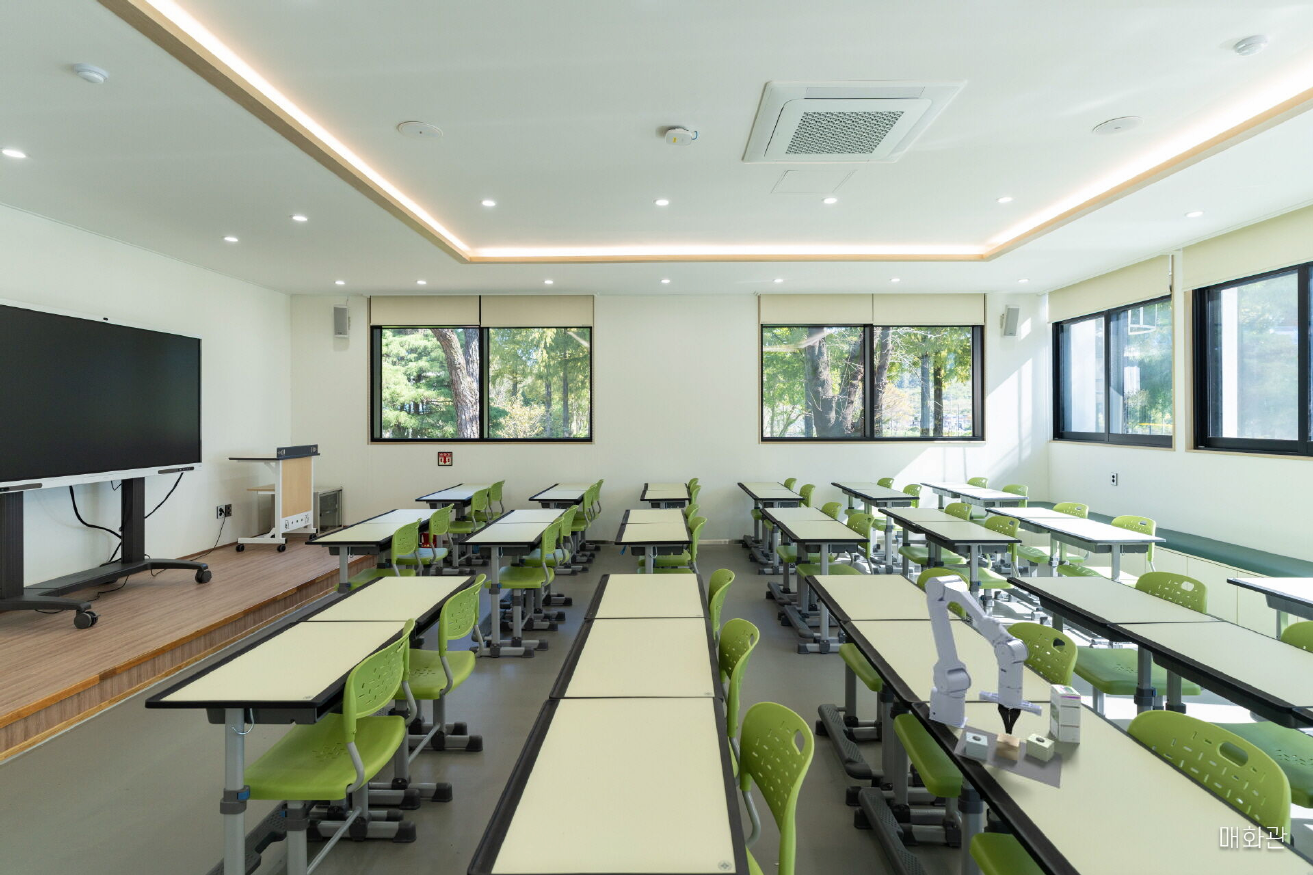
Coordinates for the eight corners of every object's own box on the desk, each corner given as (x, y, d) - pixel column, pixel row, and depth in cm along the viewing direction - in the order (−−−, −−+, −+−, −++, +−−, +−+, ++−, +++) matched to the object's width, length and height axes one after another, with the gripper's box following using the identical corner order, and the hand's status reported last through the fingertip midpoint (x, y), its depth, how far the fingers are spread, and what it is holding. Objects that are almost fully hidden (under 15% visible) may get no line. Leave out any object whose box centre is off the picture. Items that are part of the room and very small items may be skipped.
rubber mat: (953, 754, 157) (953, 752, 157) (965, 725, 172) (965, 724, 171) (1059, 789, 143) (1059, 787, 143) (1062, 755, 157) (1062, 754, 157)
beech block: (996, 754, 157) (996, 740, 156) (998, 745, 161) (999, 732, 160) (1017, 761, 154) (1018, 746, 153) (1019, 752, 158) (1020, 738, 157)
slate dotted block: (966, 754, 156) (966, 739, 156) (965, 745, 161) (966, 730, 161) (987, 760, 154) (987, 744, 154) (986, 750, 158) (986, 735, 158)
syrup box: (1080, 744, 162) (1082, 694, 162) (1057, 742, 163) (1059, 692, 163) (1070, 733, 168) (1072, 685, 167) (1048, 731, 169) (1049, 683, 168)
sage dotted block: (1026, 753, 157) (1026, 738, 157) (1033, 746, 160) (1033, 732, 160) (1046, 762, 153) (1047, 746, 153) (1053, 755, 156) (1054, 740, 156)
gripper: (978, 681, 157) (976, 729, 158) (1041, 697, 149) (1039, 748, 149) (981, 672, 163) (980, 718, 164) (1042, 687, 154) (1041, 736, 155)
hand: (1008, 732), depth 157 cm, fingers closed
